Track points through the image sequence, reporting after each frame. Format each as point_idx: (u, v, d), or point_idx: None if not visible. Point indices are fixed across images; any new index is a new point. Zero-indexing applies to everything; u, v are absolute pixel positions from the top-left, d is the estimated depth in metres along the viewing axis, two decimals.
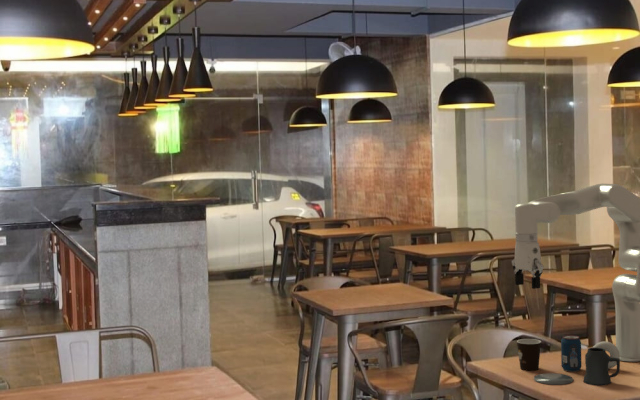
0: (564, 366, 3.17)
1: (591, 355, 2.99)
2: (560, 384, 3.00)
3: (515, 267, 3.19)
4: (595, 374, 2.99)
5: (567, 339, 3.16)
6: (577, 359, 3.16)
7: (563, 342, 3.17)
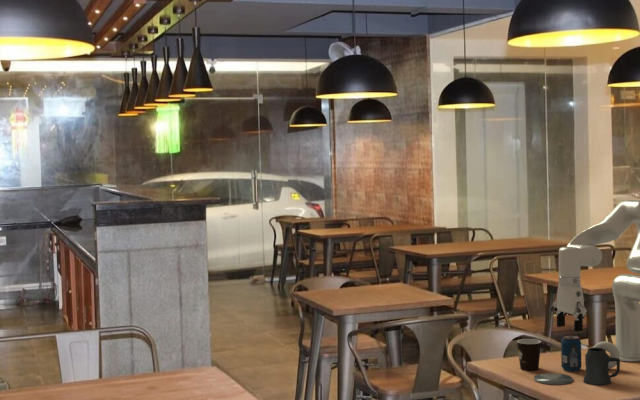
0: (564, 366, 3.17)
1: (591, 355, 2.99)
2: (560, 384, 3.00)
3: (557, 309, 3.23)
4: (595, 374, 2.99)
5: (567, 339, 3.16)
6: (577, 359, 3.16)
7: (563, 342, 3.17)
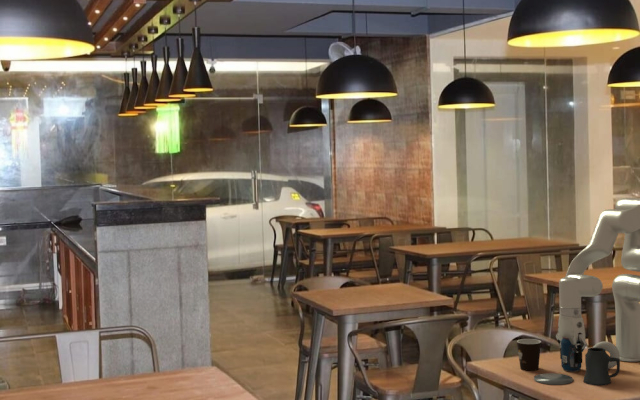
0: (564, 366, 3.17)
1: (591, 355, 2.99)
2: (560, 384, 3.00)
3: (560, 341, 3.23)
4: (595, 374, 2.99)
5: (567, 339, 3.16)
6: None
7: (563, 342, 3.17)
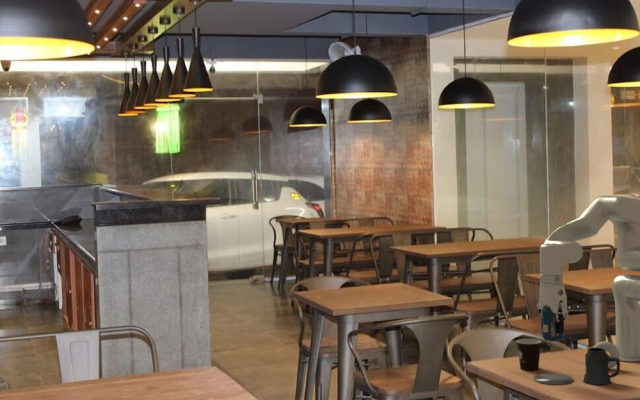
0: (545, 336, 3.04)
1: (591, 355, 2.99)
2: (560, 384, 3.00)
3: (541, 310, 3.10)
4: (595, 374, 2.99)
5: (548, 307, 3.03)
6: None
7: (544, 311, 3.04)
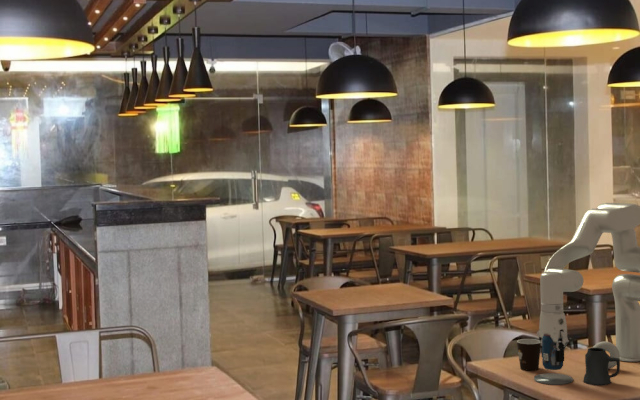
0: (545, 364, 3.04)
1: (591, 355, 2.99)
2: (560, 384, 3.00)
3: (541, 338, 3.10)
4: (595, 374, 2.99)
5: (548, 336, 3.03)
6: None
7: (544, 339, 3.04)
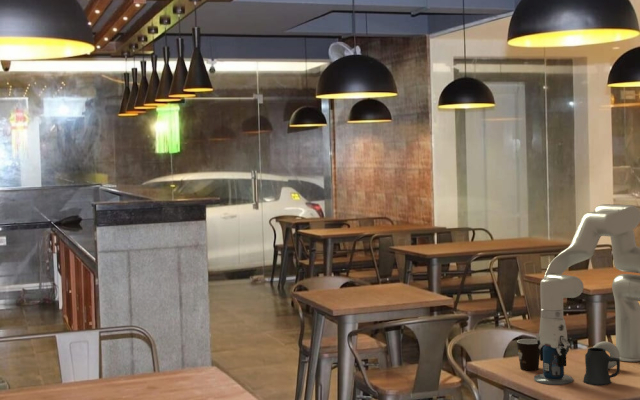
0: (546, 374, 3.05)
1: (591, 355, 2.99)
2: (560, 384, 3.00)
3: (540, 342, 3.11)
4: (595, 374, 2.99)
5: (549, 346, 3.04)
6: (559, 367, 3.03)
7: (545, 349, 3.05)
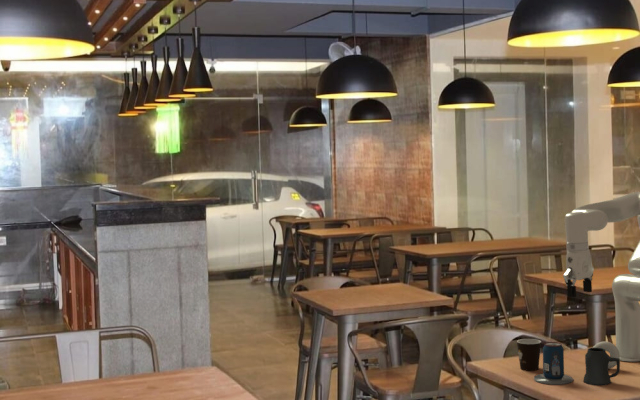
0: (546, 374, 3.05)
1: (591, 355, 2.99)
2: (560, 384, 3.00)
3: None
4: (595, 374, 2.99)
5: (549, 346, 3.04)
6: (559, 367, 3.03)
7: (545, 349, 3.05)
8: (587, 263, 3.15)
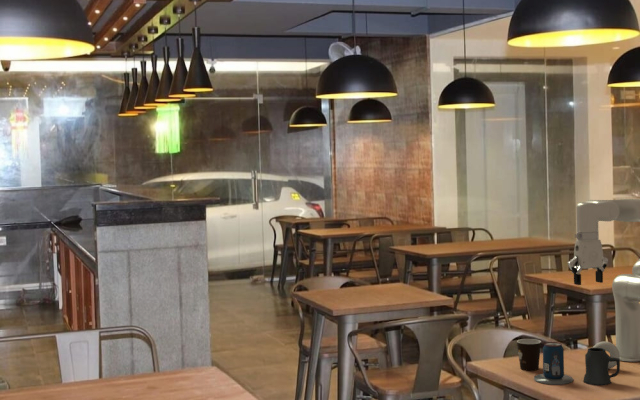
0: (546, 374, 3.05)
1: (591, 355, 2.99)
2: (560, 384, 3.00)
3: None
4: (595, 374, 2.99)
5: (549, 346, 3.04)
6: (559, 367, 3.03)
7: (545, 349, 3.05)
8: (596, 253, 3.19)
